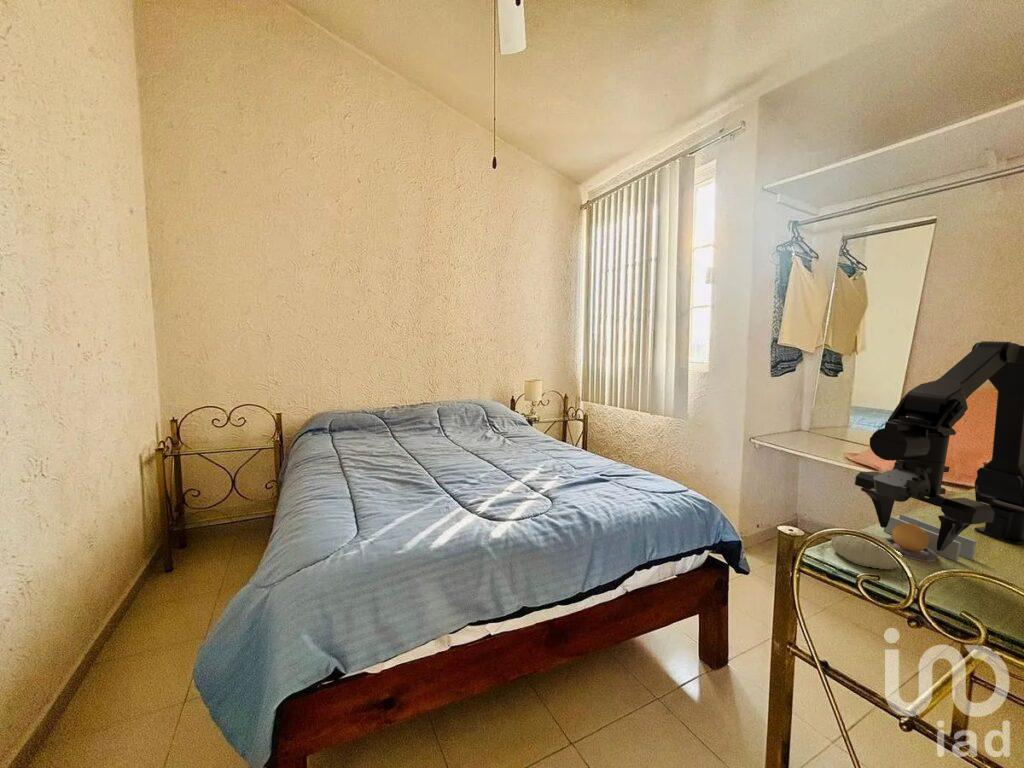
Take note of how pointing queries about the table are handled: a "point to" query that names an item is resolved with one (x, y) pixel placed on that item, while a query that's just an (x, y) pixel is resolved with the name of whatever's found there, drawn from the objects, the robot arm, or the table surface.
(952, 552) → the acrylic walls
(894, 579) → the table surface
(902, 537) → the ball
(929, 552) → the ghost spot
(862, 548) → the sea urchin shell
